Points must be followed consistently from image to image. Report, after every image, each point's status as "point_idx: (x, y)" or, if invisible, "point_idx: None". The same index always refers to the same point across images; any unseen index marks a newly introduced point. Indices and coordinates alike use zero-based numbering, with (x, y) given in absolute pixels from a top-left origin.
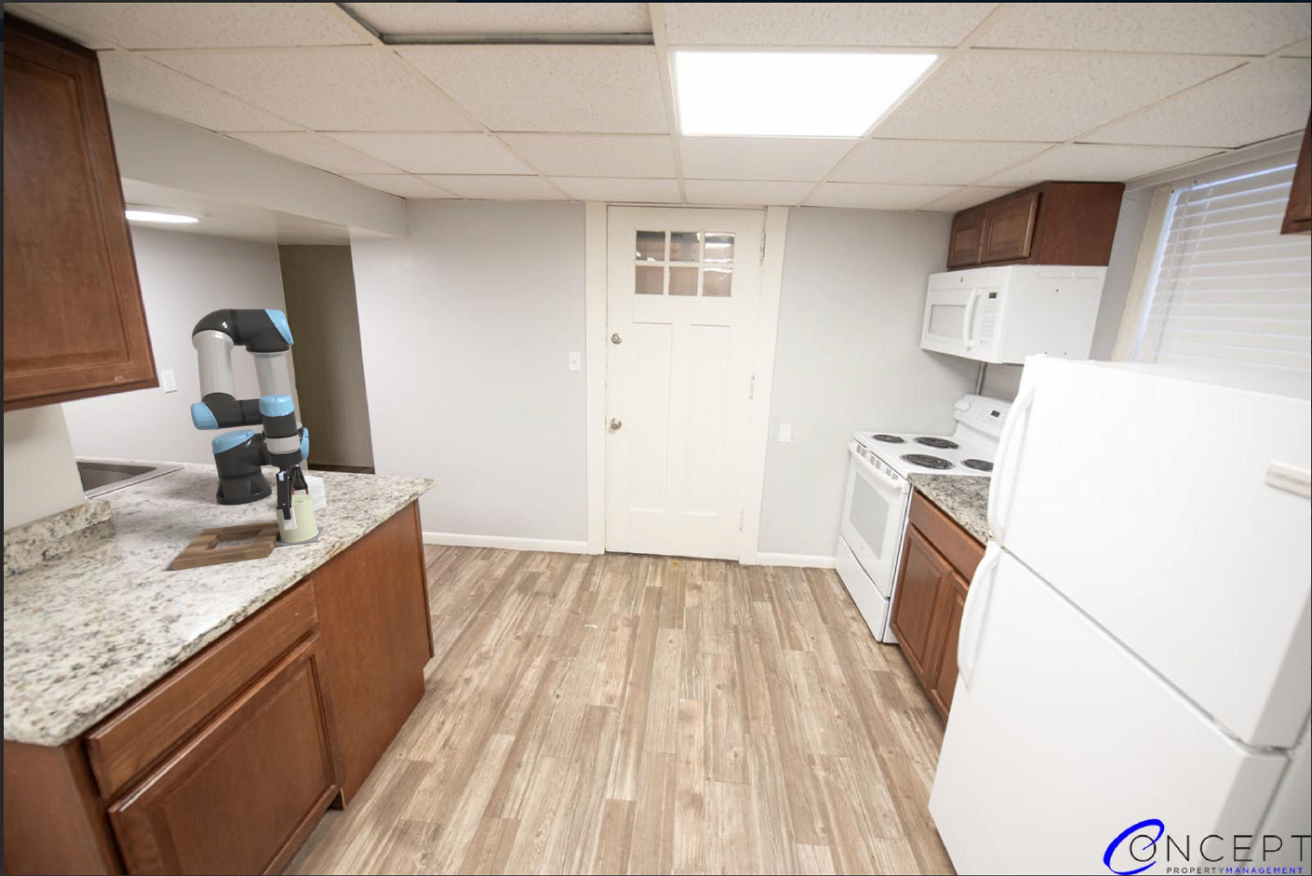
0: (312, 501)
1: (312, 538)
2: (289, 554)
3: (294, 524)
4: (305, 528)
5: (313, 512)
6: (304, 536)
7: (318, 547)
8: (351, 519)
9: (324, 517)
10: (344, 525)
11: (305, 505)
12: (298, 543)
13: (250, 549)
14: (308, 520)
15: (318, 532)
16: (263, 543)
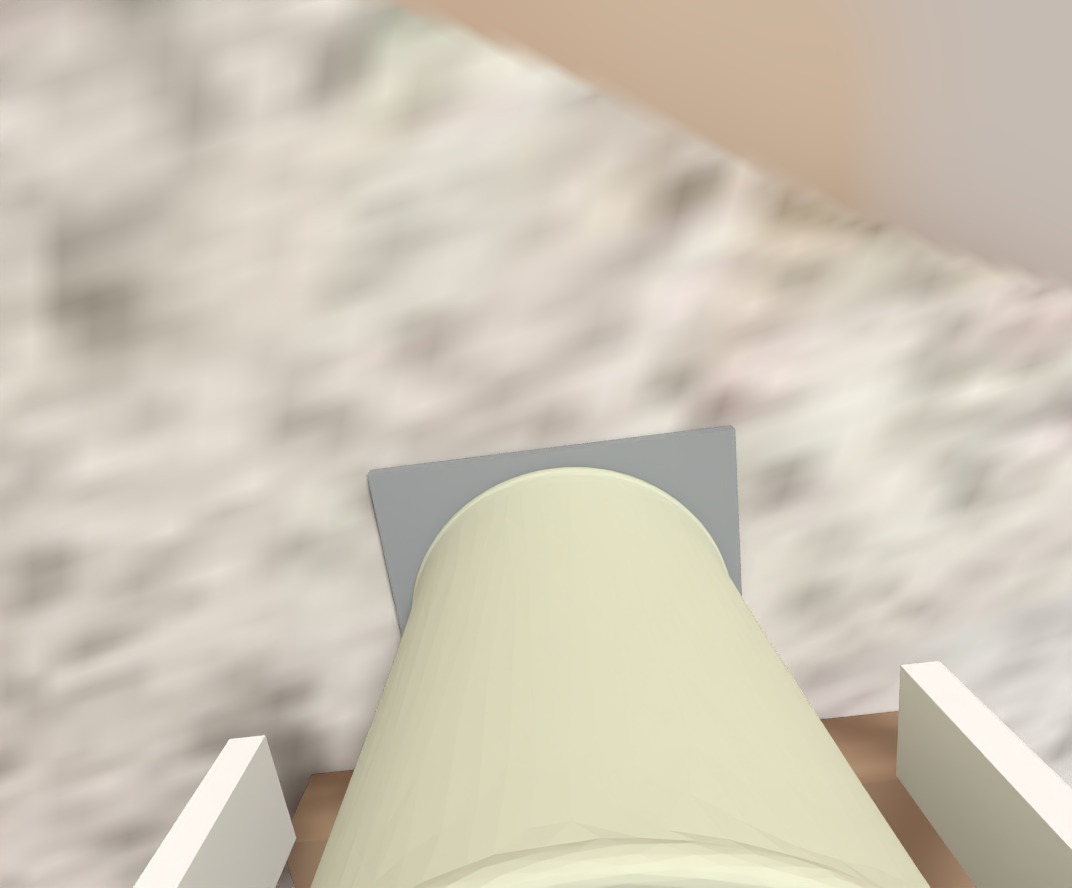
0: (551, 772)
1: (668, 483)
2: (940, 570)
3: (983, 719)
4: (727, 583)
5: (590, 611)
6: (715, 554)
7: (879, 362)
8: (159, 229)
9: (90, 547)
10: (337, 261)
11: (852, 831)
12: (740, 572)
13: (942, 881)
14: (715, 602)
15: (521, 474)
16: None
